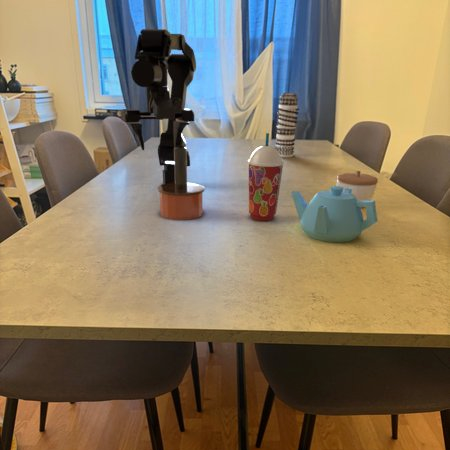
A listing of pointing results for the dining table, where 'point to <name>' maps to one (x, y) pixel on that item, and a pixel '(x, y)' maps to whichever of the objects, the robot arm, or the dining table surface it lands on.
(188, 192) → the brown disc with post
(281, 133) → the white patterned cylinder
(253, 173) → the smoothie
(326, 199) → the teapot
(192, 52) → the robot arm
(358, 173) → the trinket box
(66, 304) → the dining table surface
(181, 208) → the crock
